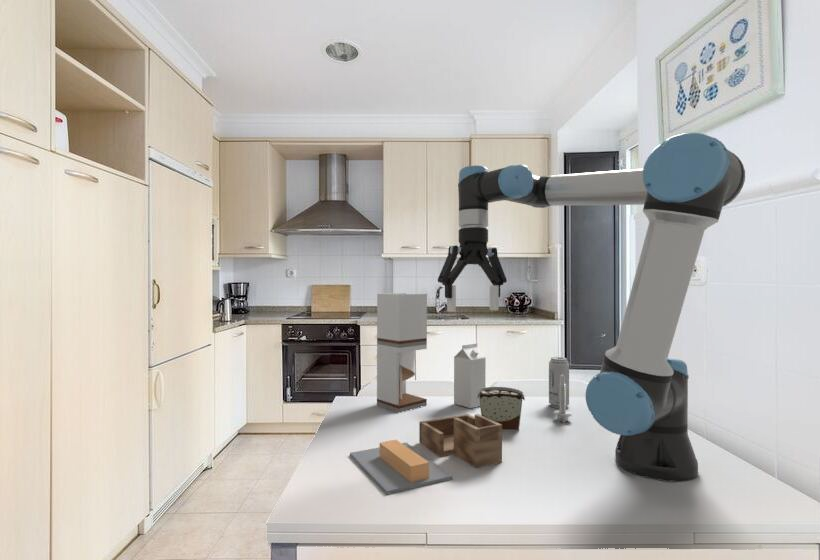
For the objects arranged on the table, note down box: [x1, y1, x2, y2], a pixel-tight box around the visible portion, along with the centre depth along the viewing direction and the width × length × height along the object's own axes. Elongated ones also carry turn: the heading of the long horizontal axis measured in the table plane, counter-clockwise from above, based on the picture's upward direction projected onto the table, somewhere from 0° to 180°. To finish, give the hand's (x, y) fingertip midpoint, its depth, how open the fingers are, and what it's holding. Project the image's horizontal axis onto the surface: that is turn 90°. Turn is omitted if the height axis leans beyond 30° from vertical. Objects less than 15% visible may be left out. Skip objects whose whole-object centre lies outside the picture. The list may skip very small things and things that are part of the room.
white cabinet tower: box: [376, 292, 428, 413], centre depth 137 cm, size 11×11×35 cm
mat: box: [349, 442, 453, 495], centre depth 91 cm, size 20×14×1 cm
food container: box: [477, 386, 526, 432], centre depth 117 cm, size 12×6×10 cm, turn 84°
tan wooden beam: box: [379, 439, 429, 482], centre depth 89 cm, size 14×4×3 cm, turn 29°
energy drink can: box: [548, 356, 570, 409], centre depth 136 cm, size 6×6×15 cm
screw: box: [553, 374, 573, 423], centre depth 122 cm, size 13×5×5 cm
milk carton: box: [453, 343, 487, 409], centre depth 138 cm, size 7×7×19 cm
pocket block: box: [418, 413, 503, 469], centre depth 100 cm, size 18×14×8 cm
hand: (473, 311), depth 111 cm, fingers open, 13 cm apart
